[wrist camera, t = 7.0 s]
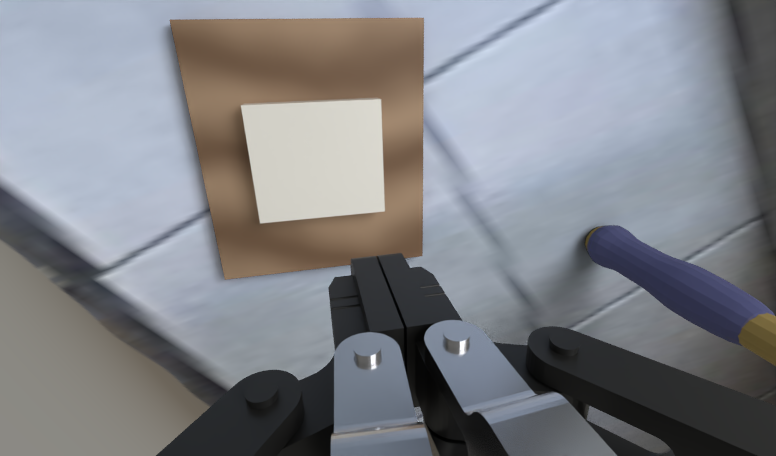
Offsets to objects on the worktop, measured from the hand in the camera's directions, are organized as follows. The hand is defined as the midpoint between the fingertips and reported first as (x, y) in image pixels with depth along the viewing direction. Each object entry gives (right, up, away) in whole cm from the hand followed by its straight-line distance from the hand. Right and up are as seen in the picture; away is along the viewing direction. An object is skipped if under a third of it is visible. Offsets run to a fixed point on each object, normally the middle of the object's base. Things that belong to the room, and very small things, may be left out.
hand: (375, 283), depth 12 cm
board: (-5, +7, +18) cm, 20 cm away
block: (0, +7, +17) cm, 18 cm away
